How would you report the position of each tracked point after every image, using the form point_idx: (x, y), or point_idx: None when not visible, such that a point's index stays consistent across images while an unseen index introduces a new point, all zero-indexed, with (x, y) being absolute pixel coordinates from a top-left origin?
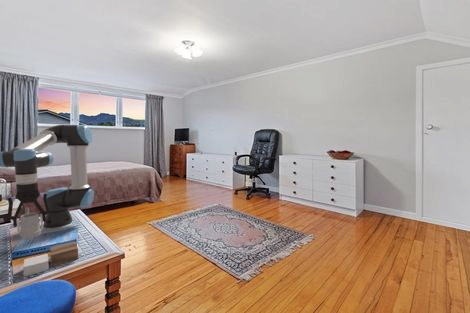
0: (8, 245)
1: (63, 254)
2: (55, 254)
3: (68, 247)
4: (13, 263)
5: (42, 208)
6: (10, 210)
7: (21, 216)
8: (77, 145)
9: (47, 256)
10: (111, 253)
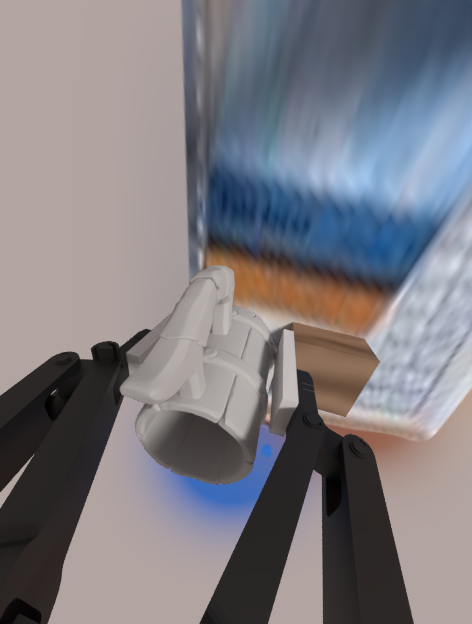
0: (197, 16)
1: None
2: None
3: (331, 390)
4: None
5: (305, 487)
6: (6, 471)
7: (142, 439)
8: None
9: (270, 380)
10: (411, 428)
